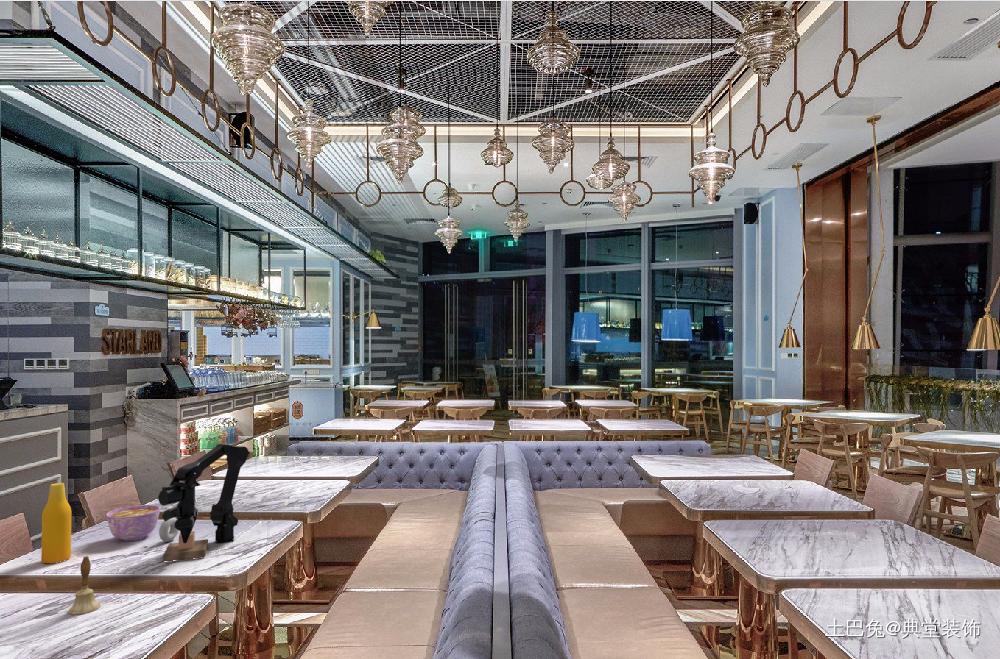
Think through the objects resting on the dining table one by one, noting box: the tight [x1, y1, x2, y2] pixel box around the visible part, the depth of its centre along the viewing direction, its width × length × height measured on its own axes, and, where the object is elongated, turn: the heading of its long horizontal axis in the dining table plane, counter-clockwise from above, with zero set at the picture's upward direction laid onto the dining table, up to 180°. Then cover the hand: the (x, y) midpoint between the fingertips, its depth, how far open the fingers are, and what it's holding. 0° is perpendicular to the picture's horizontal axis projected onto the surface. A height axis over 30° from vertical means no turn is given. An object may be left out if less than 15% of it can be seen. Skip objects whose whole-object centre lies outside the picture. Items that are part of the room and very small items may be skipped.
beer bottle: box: [40, 482, 73, 564], centre depth 229 cm, size 9×9×29 cm
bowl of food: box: [106, 504, 161, 542], centre depth 256 cm, size 20×20×12 cm
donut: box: [158, 517, 180, 543], centre depth 251 cm, size 10×4×10 cm, turn 171°
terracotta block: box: [178, 530, 196, 549], centre depth 234 cm, size 5×5×5 cm
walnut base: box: [162, 538, 209, 563], centre depth 234 cm, size 14×14×3 cm
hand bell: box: [67, 555, 101, 616], centre depth 185 cm, size 8×8×16 cm
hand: (186, 539), depth 234 cm, fingers open, 9 cm apart
